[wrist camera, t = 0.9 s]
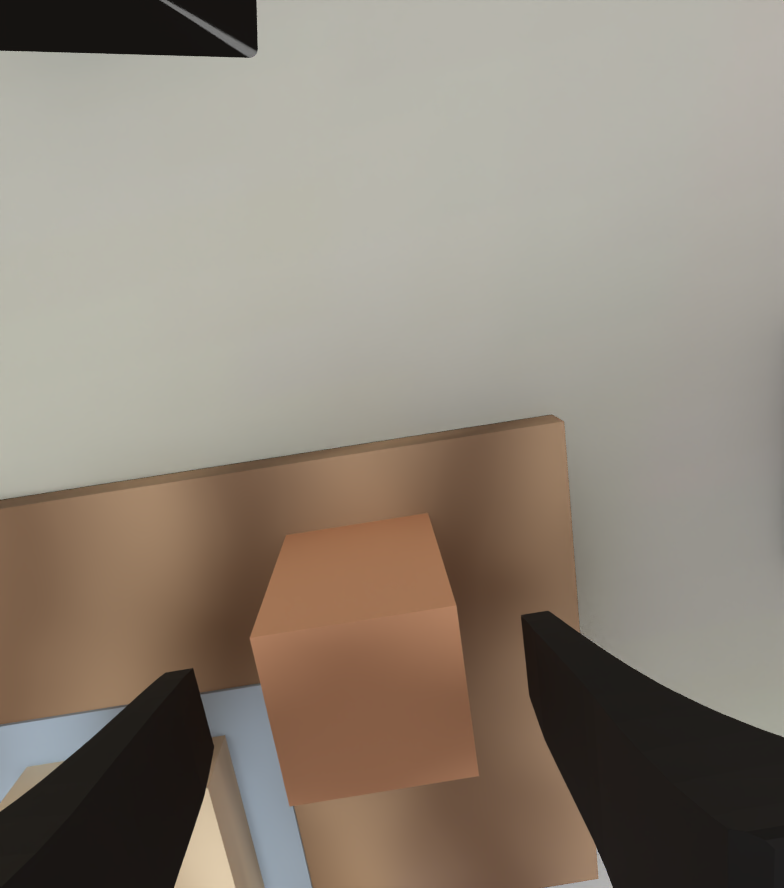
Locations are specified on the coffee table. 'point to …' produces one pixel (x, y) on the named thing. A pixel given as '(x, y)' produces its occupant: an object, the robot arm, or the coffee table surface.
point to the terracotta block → (363, 662)
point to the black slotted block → (131, 27)
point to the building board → (234, 669)
